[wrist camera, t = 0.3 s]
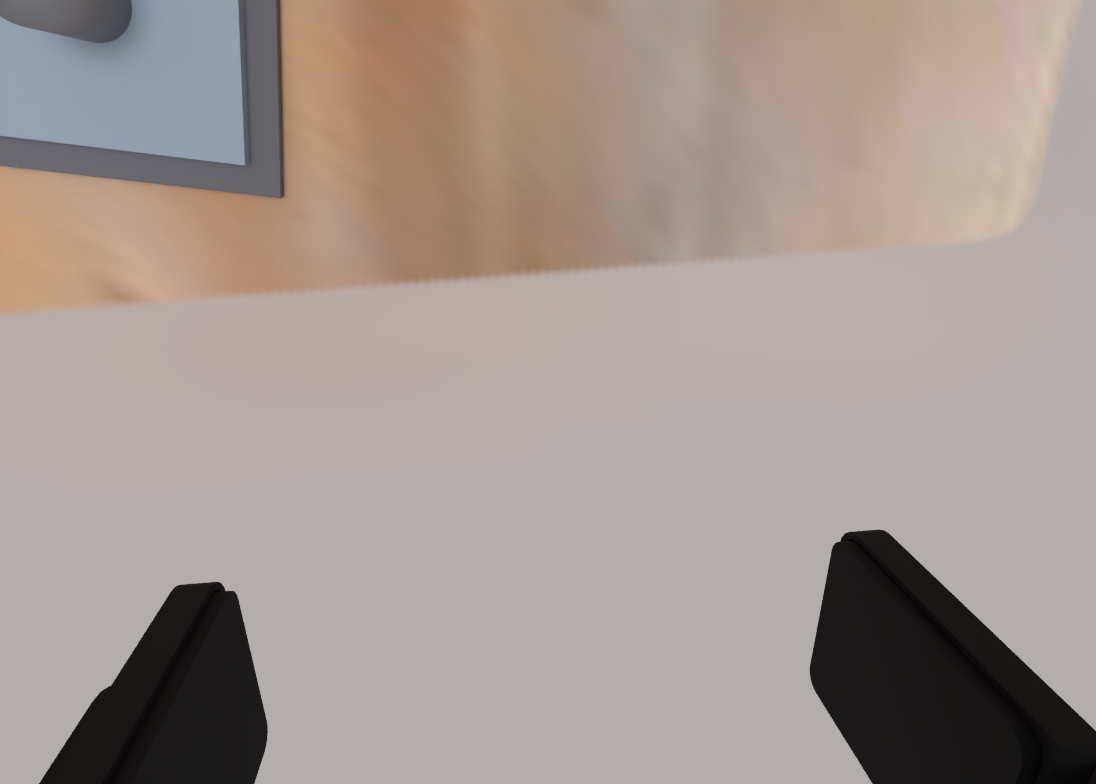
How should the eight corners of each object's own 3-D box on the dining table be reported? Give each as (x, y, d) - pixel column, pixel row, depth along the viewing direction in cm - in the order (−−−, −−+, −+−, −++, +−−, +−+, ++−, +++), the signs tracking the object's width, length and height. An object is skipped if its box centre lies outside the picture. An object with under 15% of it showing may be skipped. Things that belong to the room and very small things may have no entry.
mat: (-129, -248, 27) (-142, -256, 26) (275, -168, 29) (272, -174, 29) (-49, 158, 33) (-58, 158, 32) (283, 196, 35) (280, 197, 35)
